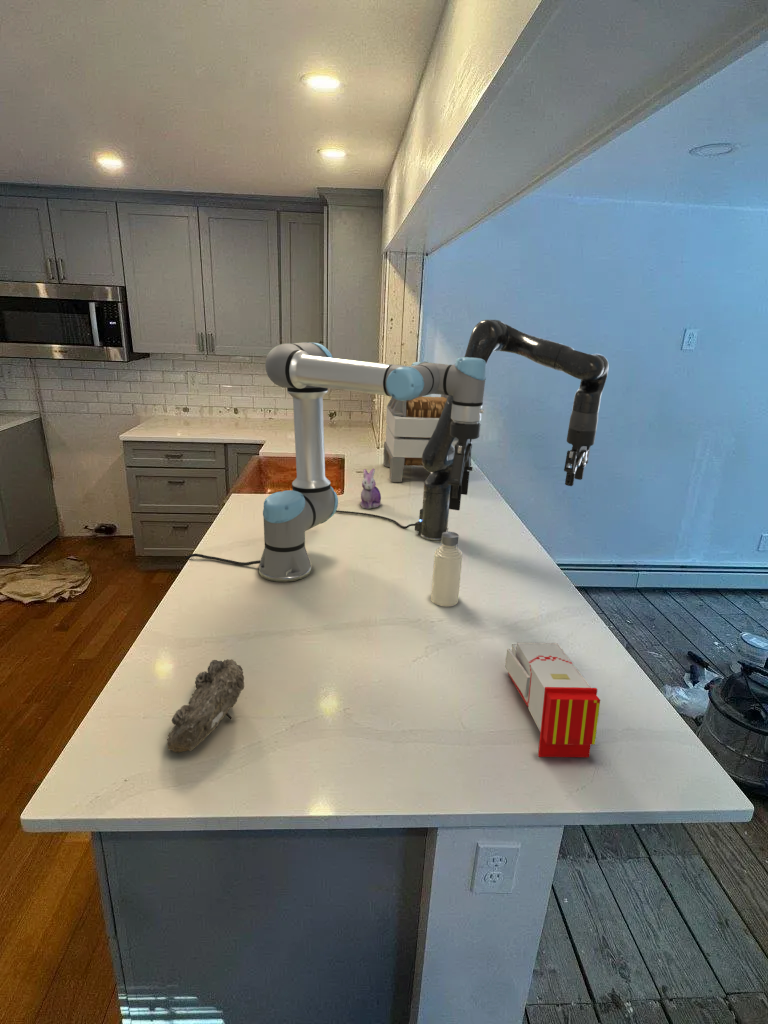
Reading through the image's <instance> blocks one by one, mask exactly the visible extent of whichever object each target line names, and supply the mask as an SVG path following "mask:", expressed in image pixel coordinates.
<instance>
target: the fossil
mask: <svg viewBox="0 0 768 1024" xmlns="http://www.w3.org/2000/svg"><path fill="white" fill-rule="evenodd" d="M243 670H244V669H243V667H242V665H240V664H237V662H236V661H235V660H234V659H232V658H231V659H227V658H226V659H224V660H223V661H222V660H217V659H212V660H211V661H210V663H209V665H208V666H207V671H201V672H199V673H198V674H197V675H196V676H195V680H194V684H195V685H194V687H195V689H194V690H193V693H192V694H191V697H190V698H189V700H188V704H184V705H182V706H181V707H180V709H177V710H176V711H175V713H174V715H173V716H172V718H171V723H172V724H173V727H172V730H171V731H170V732H168V734H167V738H166V741H167V742H166V745H167V749H168V750H169V751H173V752H174V753H176V754H178V753H182V752H188V751H189V752H192V751H193V750H195V748H196V747H197V746H199V744H200V743H201V742H203V741H204V740H205V739H206V738H207V737H208V736H209V735H210V734H211V733H212V732H214V730H215V729H217V727H218V726H219V724H220V722H221V721H222V720H223V719H224V718H225V716H226V717H227V719H229V720H233V717H232V715H230V714H229V710H230V709H231V708H234V706H235V704H236V703H237V702H238V699H239V697H240V695H241V693H242V691H243V690H245V689H244V688H245V675H244V671H243Z"/></svg>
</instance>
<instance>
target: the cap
mask: <svg viewBox="0 0 768 1024" xmlns="http://www.w3.org/2000/svg"><path fill="white" fill-rule="evenodd" d="M459 539H460V535H459V534H458V533H457V532H455V531H448V532H443V533H442V538H441V541H440V543H441V545H442V544H444V545H446V546H457V545H458V544H459Z"/></svg>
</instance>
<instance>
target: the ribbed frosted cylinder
mask: <svg viewBox="0 0 768 1024" xmlns="http://www.w3.org/2000/svg"><path fill="white" fill-rule="evenodd" d="M463 557H464V556H463V552H462V550H461V549H460V548H459V547H458V546H457V545H456V546H446V545H444V544H442V543H441V545H440V546H438V548H436V549H435V551H434V554H433V568H432V579H431V580H432V581H431V582H432V583H431V590H430V591H431V592H430V600H431V602H432V603H433V604H435V605H437V606H440V607H453V606H456V605H457V604H458V603H459V598H460V597H459V596H460V587H461V585H460V584H461V578H462V577H461V576H462V568H463V567H462V566H463Z"/></svg>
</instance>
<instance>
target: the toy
mask: <svg viewBox="0 0 768 1024" xmlns="http://www.w3.org/2000/svg"><path fill="white" fill-rule="evenodd" d="M504 668H505V670H506V671H507V675H508V676H509V678H510V680H511V682H512V683H513V685H514V687H515V688H516V690H517V691H518V693H519V695H520V697H521V698H522V700H523V702H524V703H525V705H526V707H527V708H528V711H529V713H530V715H531V717H532V719H533V721H534V723H535V725H536V727H537V729H538V731H539V743H538V753H537V755H538V757H539V758H590V753H591V746H593V745H595V744H596V738H597V729H598V722H599V713H600V706H601V699H600V698H599V696H598V688H597V687H591V686H590V684H589V683H588V682H587V680H586V679H585V678H584V676H583V675H582V674H581V672H580V671H579V669H578V668H577V667H576V666H575V664H574V663H573V661H572V660H571V659H570V658H569V657H568V655H567V654H566V653H565V651H564V649H563V648H562V647H561V646H560V645H559V643H556V642H555V643H554V642H516V643H511V648H507V649H506V654H505V662H504Z"/></svg>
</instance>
